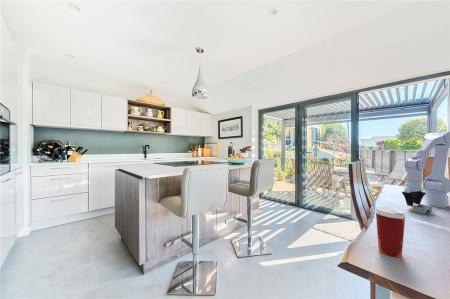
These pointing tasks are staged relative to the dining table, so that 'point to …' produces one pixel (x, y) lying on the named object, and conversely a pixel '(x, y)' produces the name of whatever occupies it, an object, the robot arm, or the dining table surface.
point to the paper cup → (390, 230)
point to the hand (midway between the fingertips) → (413, 204)
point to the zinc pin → (427, 212)
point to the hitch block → (422, 209)
